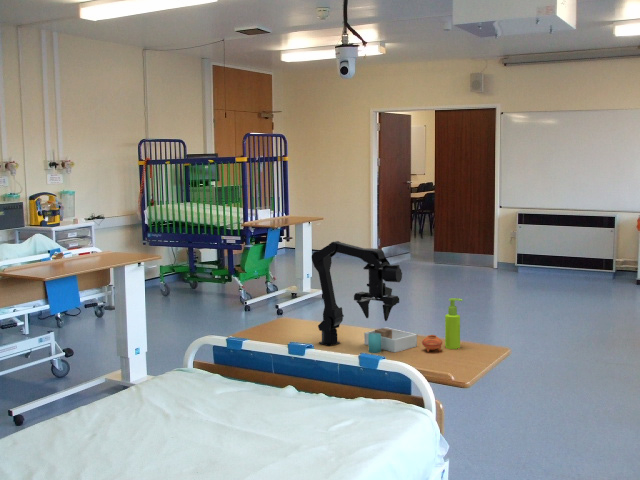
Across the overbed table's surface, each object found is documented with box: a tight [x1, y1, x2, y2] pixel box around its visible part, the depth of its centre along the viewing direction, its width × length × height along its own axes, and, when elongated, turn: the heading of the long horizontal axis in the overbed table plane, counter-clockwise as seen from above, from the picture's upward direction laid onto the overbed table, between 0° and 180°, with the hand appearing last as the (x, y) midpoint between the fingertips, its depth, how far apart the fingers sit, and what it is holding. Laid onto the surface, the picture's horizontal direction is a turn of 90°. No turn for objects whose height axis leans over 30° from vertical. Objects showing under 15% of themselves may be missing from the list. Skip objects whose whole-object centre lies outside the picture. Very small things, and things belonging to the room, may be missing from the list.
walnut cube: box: [374, 327, 392, 339], centre depth 269 cm, size 5×5×5 cm
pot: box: [421, 334, 443, 353], centre depth 257 cm, size 8×8×7 cm
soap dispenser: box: [444, 297, 463, 350], centre depth 260 cm, size 6×7×20 cm
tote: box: [363, 327, 418, 353], centre depth 266 cm, size 17×13×5 cm
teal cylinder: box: [368, 333, 382, 354], centre depth 257 cm, size 5×5×7 cm
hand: (376, 319), depth 258 cm, fingers open, 9 cm apart
